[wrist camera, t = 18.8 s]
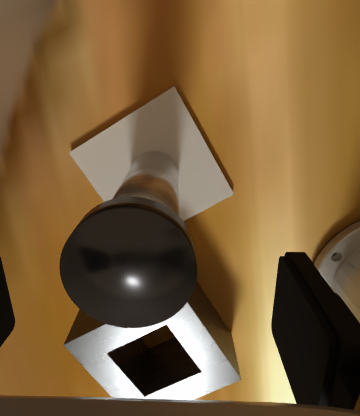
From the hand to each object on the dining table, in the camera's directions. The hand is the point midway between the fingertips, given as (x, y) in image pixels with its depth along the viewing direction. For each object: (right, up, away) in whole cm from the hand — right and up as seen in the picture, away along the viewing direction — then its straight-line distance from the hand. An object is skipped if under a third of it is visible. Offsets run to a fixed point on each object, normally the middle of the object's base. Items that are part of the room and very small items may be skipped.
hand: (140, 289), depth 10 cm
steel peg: (-1, +5, +13) cm, 14 cm away
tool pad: (-1, +6, +14) cm, 15 cm away
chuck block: (-1, -7, +18) cm, 20 cm away
